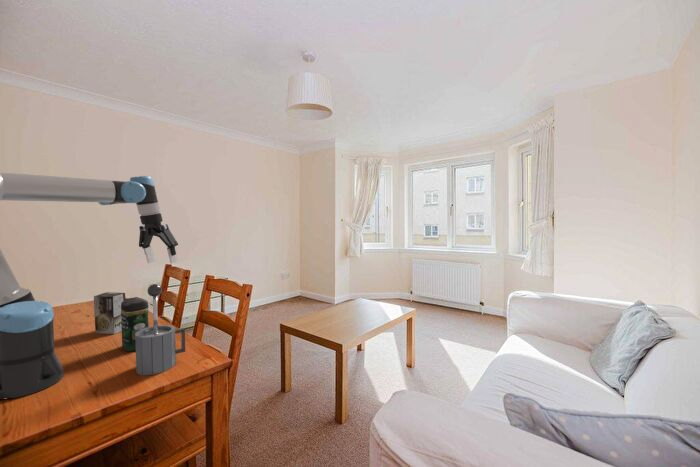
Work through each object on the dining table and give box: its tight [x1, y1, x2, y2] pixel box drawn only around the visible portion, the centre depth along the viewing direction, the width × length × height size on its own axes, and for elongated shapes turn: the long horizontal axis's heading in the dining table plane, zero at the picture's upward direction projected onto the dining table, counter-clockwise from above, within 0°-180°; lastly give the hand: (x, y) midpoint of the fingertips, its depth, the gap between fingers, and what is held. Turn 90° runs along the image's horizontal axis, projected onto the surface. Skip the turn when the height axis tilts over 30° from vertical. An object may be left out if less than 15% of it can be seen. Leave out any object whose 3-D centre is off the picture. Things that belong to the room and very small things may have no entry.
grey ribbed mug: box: [135, 324, 186, 376], centre depth 99 cm, size 14×11×12 cm
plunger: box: [141, 283, 169, 336], centre depth 97 cm, size 8×8×17 cm
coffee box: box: [93, 291, 126, 335], centre depth 128 cm, size 9×6×16 cm
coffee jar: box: [121, 296, 150, 352], centre depth 112 cm, size 10×8×19 cm
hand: (162, 262), depth 128 cm, fingers open, 13 cm apart
